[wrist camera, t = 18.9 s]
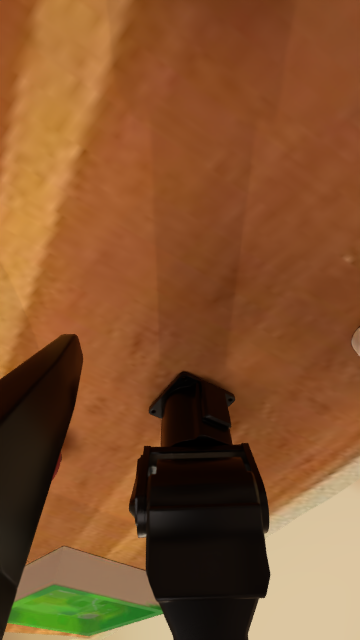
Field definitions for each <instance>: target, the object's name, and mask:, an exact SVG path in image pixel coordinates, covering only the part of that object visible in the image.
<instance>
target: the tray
mask: <svg viewBox="0 0 360 640" xmlns="http://www.w3.org/2000/svg"><path fill="white" fill-rule="evenodd" d="M161 614H163V612H162V609H161V607H160V605H159V602H156V600H155V597H154V595H153V592H152V589H151V587H150V584H149V581H148V577H147V574H146V571H144V570H141V569H137V568H134V567H131V566H128V565H124V564H121V563H118V562H115V561H111V560H108V559H105V558H101V557H98V556H95V555H92V554H88V553H85V552H82V551H79V550H75V549H72V548H69V547H66V546H63V547H61V548H59V549H57V550H55V551H53V552H51V553H49V554H47V555H45V556H43V557H42V558H40V559H38V560H36V561H34V562H32V563H30V564H28V565H26V566H25V567H24V571H23V574H22V577H21V580H20V583H19V586H18V588H17V594H16V597H15V600H14V603H13V606H12V610H11V613H10V616H9V619H8V622H7V623H11V624H17V625H24V626H30V627H36V628H42V629H48V630H54V631H61V632H67V633H73V634H79V635H85V636H91V635H94V634H98V633H101V632H104V631H108V630H111V629H114V628H118V627H121V626H124V625H128V624H131V623H134V622H137V621H141V620H144V619H147V618H151V617H154V616H157V615H161Z"/></svg>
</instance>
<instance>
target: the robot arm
mask: <svg viewBox="0 0 360 640" xmlns="http://www.w3.org/2000/svg"><path fill="white" fill-rule="evenodd" d="M82 364H83V354H82V350H81V346H80V342H79V339H78V336H77V335H75V334H63V335H61V336H59V337H58V338H57V339H55V340H54V341H53V342H51V343H50V344H48V345H47V346H46V347H44V348H43V349H41V350H40V351H39V352H37V353H36V354H35V355H33V356H32V357H30V358H29V359H28V360H26V361H25V362H24V363H22V364H21V365H19V366H18V367H17V368H15V369H14V370H12V371H11V372H10V373H8V374H7V375H6V376H4V377H3V378H1V379H0V640H2V638H3V635H4V632H5V629H6V626H7V622H8V619H9V616H10V613H11V610H12V606H13V603H14V600H15V597H16V594H17V588H18V586H19V583H20V580H21V577H22V574H23V571H24V567H25V564H26V561H27V558H28V555H29V551H30V548H31V545H32V542H33V539H34V535H35V532H36V529H37V526H38V523H39V519H40V516H41V513H42V510H43V507H44V504H45V500H46V497H47V494H48V491H49V488H50V484H51V481H52V478H53V475H54V472H55V468H56V465H57V462H58V459H59V456H60V452H61V449H62V446H63V443H64V440H65V436H66V433H67V430H68V427H69V424H70V421H71V417H72V414H73V411H74V407H75V402H76V397H77V392H78V386H79V381H80V375H81V370H82ZM183 377H185V378H183ZM234 401H235V396H234V395H233V394H232V393H230V392H228V391H225V390H223V389H221V388H219V387H217V386H215V385H213V384H211V383H208V382H206V381H204V380H202V379H200V378H198V377H196V376H193V375H191V374H189V373H187V372H181V373H180V374H179V375H178V376H177V377H176V378H175V379H174V380H173V382H172V383H171V384H170V385H169V386H168V387H167V388H166V389H165V390H164V391H163V393H162V394H161V395H160V396H159V397H158V398H157V399H156V400H155V401H154V403H153V404H152V405H151V406H150V407H149V413H150V414H151V415H154V416H156V417H159V418H161V419H162V424H161V447H151V446H144V451H143V455H141V458H139V459H138V461H137V472H136V479H135V484H134V487H133V491H132V495H131V499H130V503H129V511H130V513H131V514H132V515H133V516H134V518H135V524H136V526H137V534H138V538H144V537H146V574H147V577H148V581H149V584H150V587H151V589H152V592H153V595H154V597H155V600H156V602H159V605H160V607H161V609H162V612H163V614H164V616H165V618H166V621H167V623H168V625H169V628H170V630H171V632H172V635H173V638H174V640H248V631H249V628H250V625H251V622H252V619H253V615H254V612H255V609H256V606H257V603H258V599H259V598H265V596H266V594H267V589H268V584H269V579H270V570H269V565H268V559H267V554H266V547H265V538H264V533H267V532H268V529H269V508H268V501H267V496H266V491H265V487H264V484H263V481H262V478H261V476H260V473H259V470H258V468H257V465H256V463H255V460H254V457H253V455H252V452H251V450H250V447H249V444H248V443H241V444H238V445H233V444H232V439H231V434H230V429H229V428H230V427H231V421H230V416H229V411H228V407H229V406H230V405H231V404H232V403H233V402H234Z"/></svg>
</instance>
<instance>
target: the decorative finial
mask: <svg viewBox="0 0 360 640" xmlns="http://www.w3.org/2000/svg"><path fill="white" fill-rule="evenodd" d="M352 347H353V349H354V350H355V351H356V352H357V354H358V355H359V356H360V327H359V328H358V329H357V330H356V332H355V333H354V335H353V337H352Z"/></svg>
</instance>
